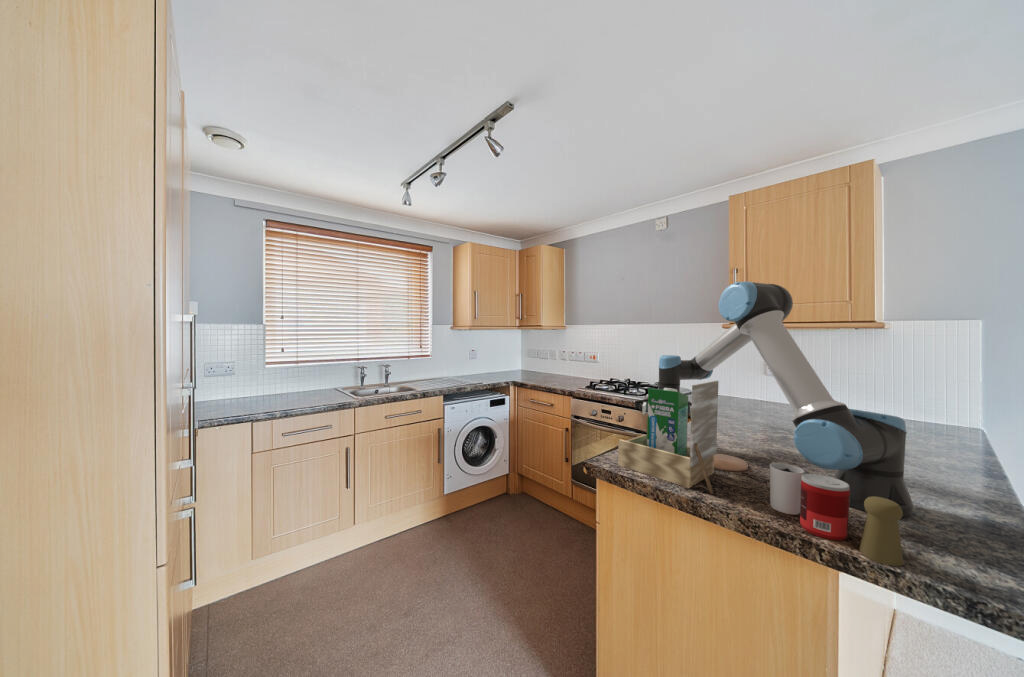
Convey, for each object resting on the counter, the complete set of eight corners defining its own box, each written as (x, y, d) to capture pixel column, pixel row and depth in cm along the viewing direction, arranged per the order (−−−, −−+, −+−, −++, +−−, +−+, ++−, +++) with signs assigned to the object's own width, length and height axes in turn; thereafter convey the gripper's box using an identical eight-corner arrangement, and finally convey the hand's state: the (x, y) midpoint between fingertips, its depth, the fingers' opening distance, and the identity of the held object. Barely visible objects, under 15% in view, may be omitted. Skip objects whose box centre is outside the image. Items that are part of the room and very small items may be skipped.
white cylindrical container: (763, 500, 93) (764, 461, 93) (793, 503, 92) (794, 464, 92) (776, 513, 87) (778, 471, 86) (808, 517, 85) (810, 474, 85)
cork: (852, 551, 72) (854, 495, 72) (869, 544, 75) (871, 490, 74) (894, 569, 67) (896, 509, 66) (910, 561, 69) (913, 503, 69)
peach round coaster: (753, 464, 119) (753, 461, 119) (739, 474, 110) (739, 470, 110) (710, 454, 129) (710, 450, 129) (694, 462, 120) (694, 458, 120)
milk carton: (686, 468, 115) (688, 388, 114) (676, 476, 108) (678, 391, 108) (657, 460, 121) (659, 385, 120) (645, 468, 114) (648, 387, 114)
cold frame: (734, 479, 107) (737, 382, 106) (711, 496, 96) (715, 388, 95) (645, 454, 128) (647, 373, 127) (618, 465, 116) (620, 376, 116)
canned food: (858, 542, 75) (860, 488, 75) (818, 540, 76) (820, 487, 75) (827, 522, 83) (828, 474, 83) (791, 521, 83) (792, 473, 83)
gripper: (707, 415, 126) (713, 429, 107) (631, 407, 136) (624, 420, 117) (708, 393, 126) (714, 404, 107) (631, 387, 136) (624, 396, 117)
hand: (667, 412), depth 112 cm, fingers open, 13 cm apart
